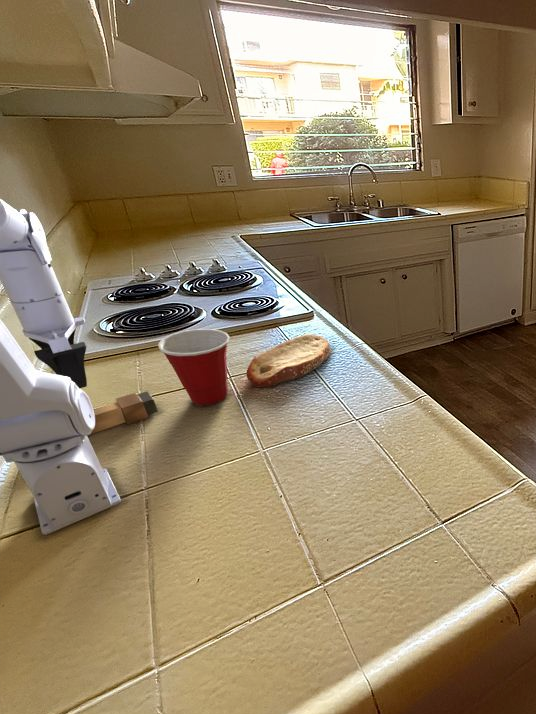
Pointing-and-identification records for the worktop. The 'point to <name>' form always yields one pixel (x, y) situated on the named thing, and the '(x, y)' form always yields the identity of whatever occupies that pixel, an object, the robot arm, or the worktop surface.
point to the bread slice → (288, 360)
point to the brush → (124, 411)
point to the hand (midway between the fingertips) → (73, 379)
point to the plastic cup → (199, 363)
